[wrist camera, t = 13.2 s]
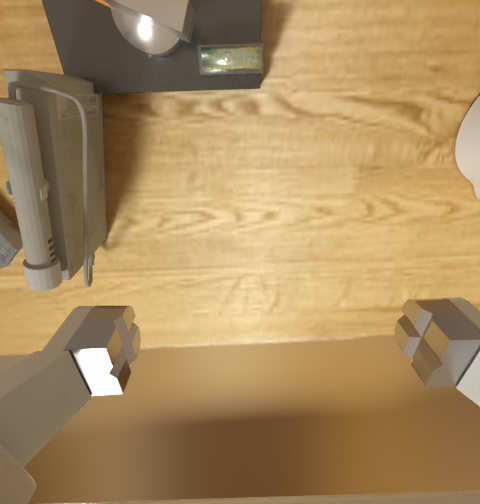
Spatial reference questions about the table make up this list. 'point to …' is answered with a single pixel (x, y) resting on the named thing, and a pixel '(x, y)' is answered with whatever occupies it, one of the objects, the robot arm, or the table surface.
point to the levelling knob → (153, 23)
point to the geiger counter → (55, 172)
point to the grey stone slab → (8, 240)
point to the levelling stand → (160, 67)
